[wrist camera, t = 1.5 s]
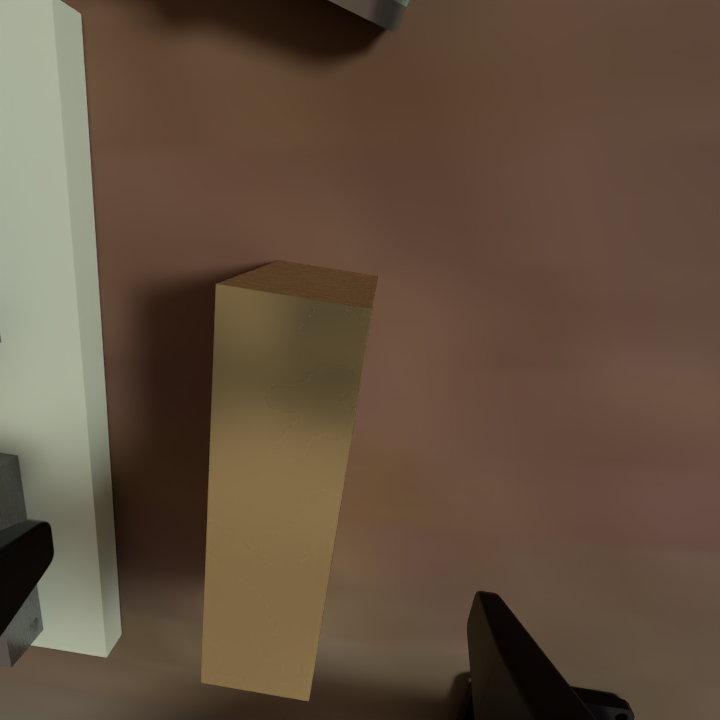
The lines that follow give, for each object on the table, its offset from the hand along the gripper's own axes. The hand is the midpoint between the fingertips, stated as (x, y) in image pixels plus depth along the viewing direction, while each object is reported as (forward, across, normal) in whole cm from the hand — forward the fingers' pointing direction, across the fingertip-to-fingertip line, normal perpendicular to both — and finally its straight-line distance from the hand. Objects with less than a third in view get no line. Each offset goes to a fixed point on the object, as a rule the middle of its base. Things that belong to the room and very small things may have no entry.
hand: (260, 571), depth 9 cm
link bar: (+6, 0, 0) cm, 6 cm away
